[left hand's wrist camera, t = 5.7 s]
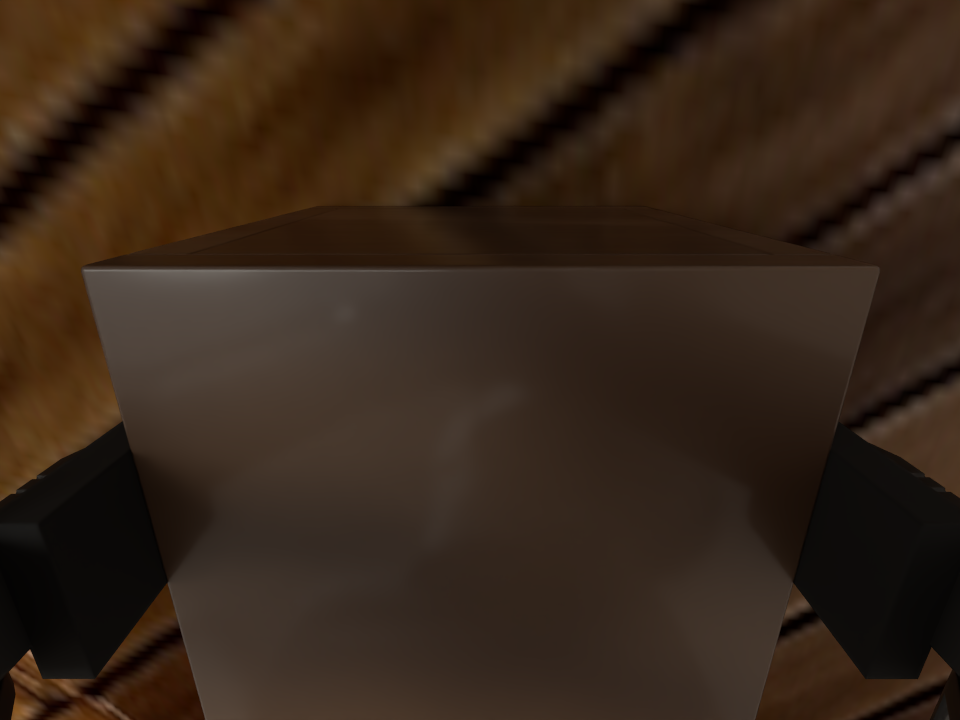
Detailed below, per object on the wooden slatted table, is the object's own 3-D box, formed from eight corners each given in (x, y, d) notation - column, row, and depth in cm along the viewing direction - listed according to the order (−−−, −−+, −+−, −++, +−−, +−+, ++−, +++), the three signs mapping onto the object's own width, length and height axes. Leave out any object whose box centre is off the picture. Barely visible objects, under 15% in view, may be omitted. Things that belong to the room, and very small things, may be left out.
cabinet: (604, 582, 23) (702, 914, 13) (356, 582, 23) (257, 914, 13) (645, 206, 17) (884, 265, 7) (315, 206, 17) (76, 265, 7)
